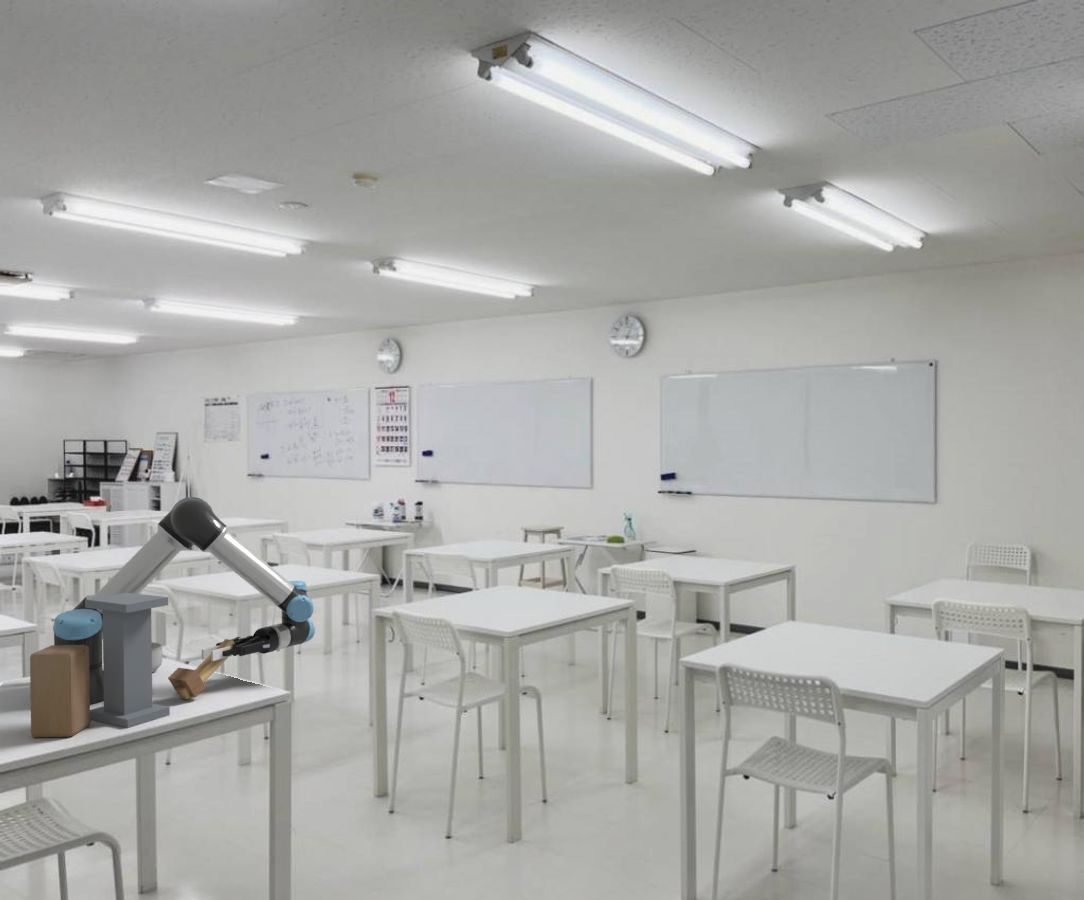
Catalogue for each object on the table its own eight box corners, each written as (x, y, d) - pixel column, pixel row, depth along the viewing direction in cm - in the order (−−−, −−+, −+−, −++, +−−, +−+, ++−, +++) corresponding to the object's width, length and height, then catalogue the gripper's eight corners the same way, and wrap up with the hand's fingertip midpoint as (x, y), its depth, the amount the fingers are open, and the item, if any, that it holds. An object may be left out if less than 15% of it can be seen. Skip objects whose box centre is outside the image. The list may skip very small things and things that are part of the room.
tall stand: (86, 718, 232) (85, 599, 231) (128, 706, 242) (127, 592, 242) (127, 727, 224) (126, 604, 224) (169, 714, 234) (168, 597, 234)
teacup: (170, 670, 280) (170, 644, 280) (138, 678, 271) (137, 651, 271) (142, 665, 288) (141, 639, 288) (110, 672, 279) (109, 646, 279)
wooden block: (91, 725, 226) (90, 643, 226) (72, 738, 216) (71, 653, 216) (50, 725, 226) (49, 644, 226) (29, 739, 216) (28, 653, 216)
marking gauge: (175, 697, 249) (165, 680, 246) (225, 646, 264) (215, 630, 261) (192, 700, 246) (182, 683, 243) (242, 648, 261) (233, 632, 258)
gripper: (291, 654, 271) (228, 672, 250) (251, 648, 279) (187, 665, 258) (290, 628, 271) (227, 644, 250) (251, 623, 279) (187, 639, 258)
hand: (207, 655), depth 254 cm, fingers closed on marking gauge, 3 cm apart
